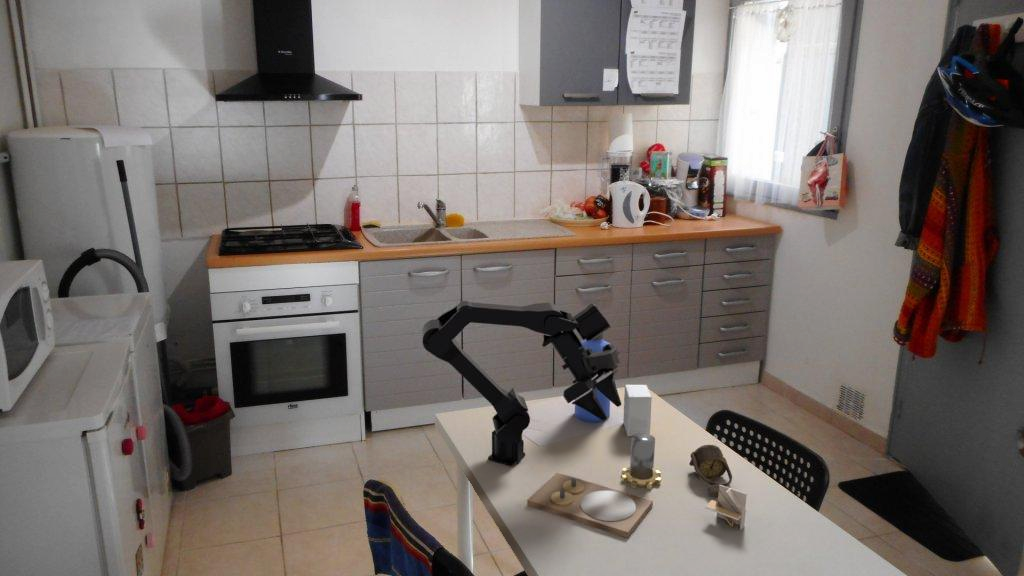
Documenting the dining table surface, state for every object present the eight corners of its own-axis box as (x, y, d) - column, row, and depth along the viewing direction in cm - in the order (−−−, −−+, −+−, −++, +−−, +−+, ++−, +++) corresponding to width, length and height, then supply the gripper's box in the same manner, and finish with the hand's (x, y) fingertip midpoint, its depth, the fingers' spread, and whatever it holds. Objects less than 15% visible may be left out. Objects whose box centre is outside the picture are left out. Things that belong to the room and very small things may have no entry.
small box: (650, 437, 183) (652, 397, 181) (626, 437, 184) (628, 397, 181) (645, 422, 191) (647, 384, 188) (622, 422, 191) (624, 383, 188)
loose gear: (614, 482, 163) (616, 441, 160) (630, 465, 170) (632, 426, 167) (652, 493, 158) (655, 451, 156) (666, 475, 166) (669, 435, 163)
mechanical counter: (741, 450, 166) (696, 434, 169) (740, 472, 154) (692, 455, 157) (731, 478, 168) (687, 462, 170) (729, 503, 156) (681, 485, 158)
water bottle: (572, 421, 192) (575, 328, 185) (575, 406, 201) (578, 316, 194) (609, 424, 190) (613, 330, 184) (610, 408, 199) (614, 318, 192)
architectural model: (737, 536, 145) (740, 501, 143) (703, 523, 149) (706, 489, 147) (744, 528, 147) (747, 494, 145) (711, 515, 151) (713, 482, 149)
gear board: (527, 505, 154) (527, 491, 153) (556, 477, 165) (557, 464, 164) (627, 537, 143) (628, 523, 142) (652, 505, 154) (653, 491, 153)
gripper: (584, 345, 155) (627, 409, 153) (614, 325, 171) (654, 382, 170) (545, 371, 161) (586, 433, 159) (578, 349, 177) (616, 405, 175)
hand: (612, 412), depth 165 cm, fingers open, 9 cm apart
